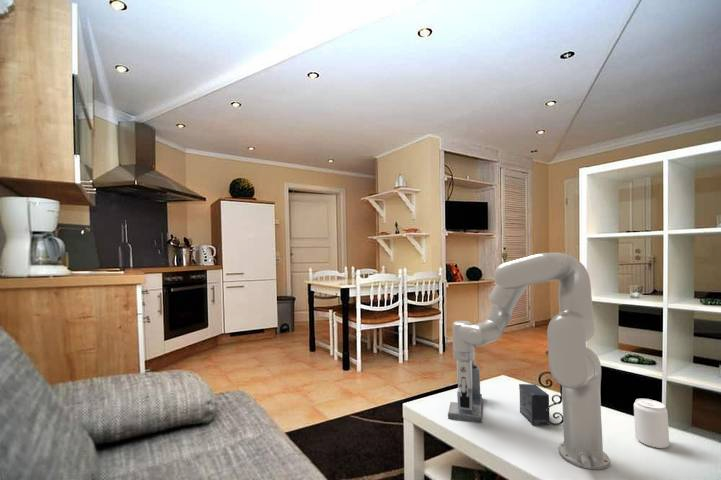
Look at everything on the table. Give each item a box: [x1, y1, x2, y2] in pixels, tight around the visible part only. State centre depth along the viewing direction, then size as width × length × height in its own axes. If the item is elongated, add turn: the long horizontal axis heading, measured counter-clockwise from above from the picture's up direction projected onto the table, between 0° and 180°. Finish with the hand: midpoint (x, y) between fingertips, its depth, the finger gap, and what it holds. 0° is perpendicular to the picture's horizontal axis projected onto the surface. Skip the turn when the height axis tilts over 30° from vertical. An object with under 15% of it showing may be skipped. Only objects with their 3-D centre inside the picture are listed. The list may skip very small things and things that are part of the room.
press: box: [447, 364, 483, 424], centre depth 136 cm, size 22×12×13 cm, turn 161°
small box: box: [518, 383, 551, 426], centre depth 126 cm, size 11×6×10 cm, turn 179°
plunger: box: [472, 346, 476, 368], centre depth 143 cm, size 5×5×13 cm
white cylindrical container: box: [633, 398, 670, 449], centre depth 109 cm, size 8×8×12 cm
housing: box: [456, 386, 472, 410], centre depth 130 cm, size 5×5×7 cm
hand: (465, 403), depth 130 cm, fingers closed on housing, 4 cm apart
